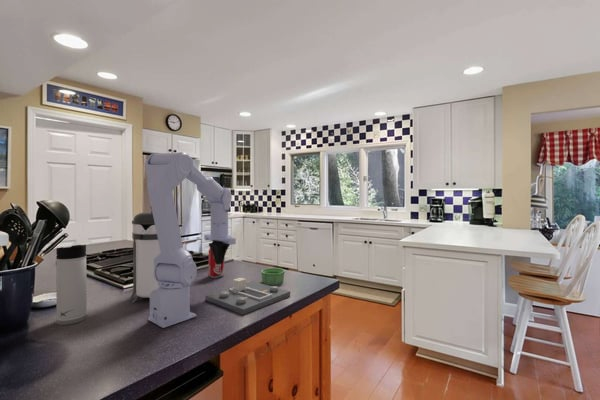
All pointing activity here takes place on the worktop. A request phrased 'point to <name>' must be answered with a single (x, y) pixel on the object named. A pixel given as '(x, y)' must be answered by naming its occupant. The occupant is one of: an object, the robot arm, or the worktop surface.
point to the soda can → (215, 266)
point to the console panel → (248, 297)
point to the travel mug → (71, 284)
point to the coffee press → (144, 255)
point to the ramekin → (272, 276)
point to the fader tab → (239, 284)
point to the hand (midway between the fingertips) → (219, 263)
